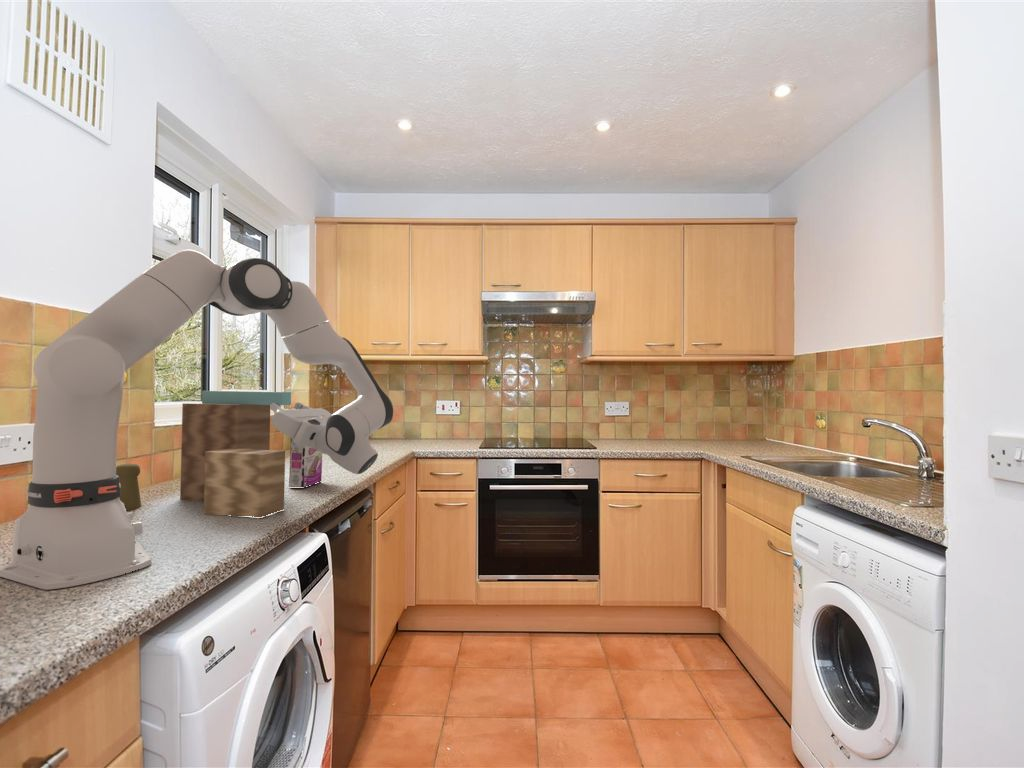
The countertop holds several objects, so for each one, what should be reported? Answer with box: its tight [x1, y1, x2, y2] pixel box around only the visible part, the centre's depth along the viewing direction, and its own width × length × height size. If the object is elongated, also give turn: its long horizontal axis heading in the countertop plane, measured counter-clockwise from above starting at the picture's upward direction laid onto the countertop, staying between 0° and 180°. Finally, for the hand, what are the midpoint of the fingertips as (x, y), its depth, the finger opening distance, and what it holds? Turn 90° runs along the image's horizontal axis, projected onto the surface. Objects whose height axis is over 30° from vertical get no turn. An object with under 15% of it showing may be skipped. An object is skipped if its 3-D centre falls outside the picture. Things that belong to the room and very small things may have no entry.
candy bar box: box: [288, 438, 323, 488], centre depth 155 cm, size 11×5×16 cm, turn 172°
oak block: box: [203, 448, 286, 517], centre depth 121 cm, size 16×8×15 cm, turn 77°
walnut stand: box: [179, 402, 271, 502], centre depth 138 cm, size 18×12×26 cm, turn 77°
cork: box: [116, 463, 142, 511], centre depth 123 cm, size 6×6×11 cm
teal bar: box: [201, 390, 292, 406], centre depth 137 cm, size 26×4×4 cm, turn 77°
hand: (285, 405), depth 134 cm, fingers open, 8 cm apart
